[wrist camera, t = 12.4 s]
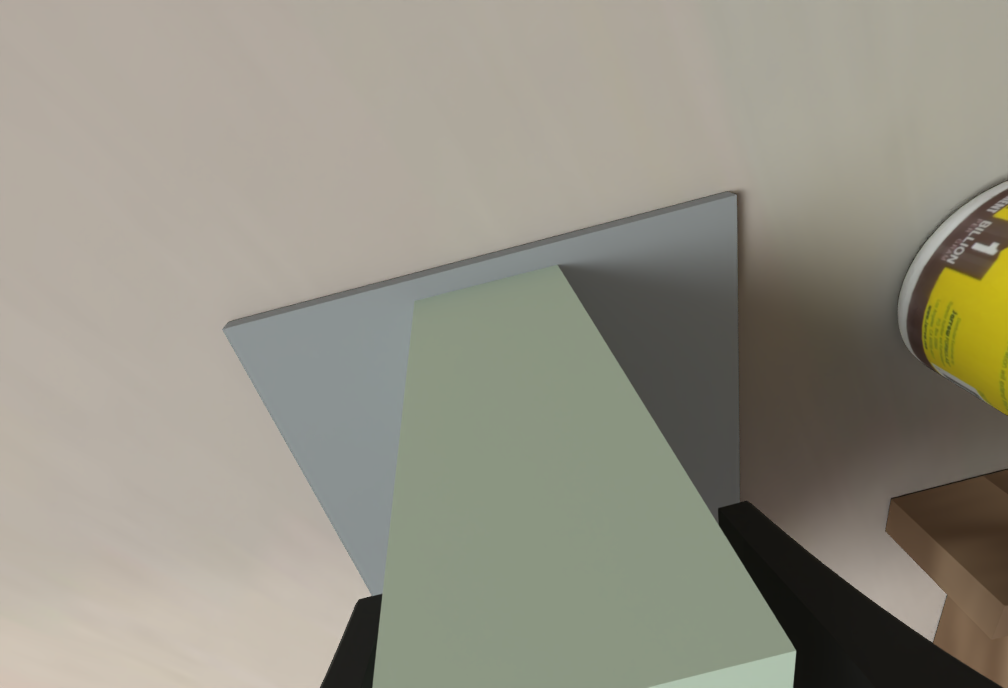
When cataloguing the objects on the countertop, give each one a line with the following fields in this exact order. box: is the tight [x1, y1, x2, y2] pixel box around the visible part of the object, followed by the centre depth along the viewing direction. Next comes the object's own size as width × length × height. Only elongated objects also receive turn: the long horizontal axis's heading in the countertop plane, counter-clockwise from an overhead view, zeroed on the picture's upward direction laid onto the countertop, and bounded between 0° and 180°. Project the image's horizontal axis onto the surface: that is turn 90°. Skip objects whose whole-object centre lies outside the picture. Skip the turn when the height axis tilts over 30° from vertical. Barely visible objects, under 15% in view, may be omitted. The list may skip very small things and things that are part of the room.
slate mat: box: [222, 191, 740, 596], centre depth 15 cm, size 12×12×1 cm
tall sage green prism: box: [372, 265, 796, 688], centre depth 11 cm, size 3×11×9 cm, turn 13°
